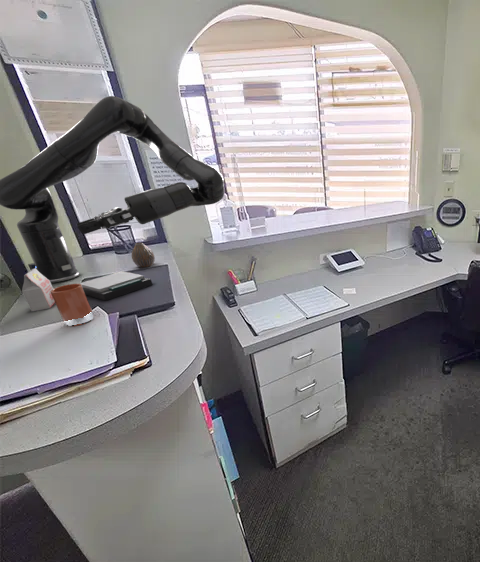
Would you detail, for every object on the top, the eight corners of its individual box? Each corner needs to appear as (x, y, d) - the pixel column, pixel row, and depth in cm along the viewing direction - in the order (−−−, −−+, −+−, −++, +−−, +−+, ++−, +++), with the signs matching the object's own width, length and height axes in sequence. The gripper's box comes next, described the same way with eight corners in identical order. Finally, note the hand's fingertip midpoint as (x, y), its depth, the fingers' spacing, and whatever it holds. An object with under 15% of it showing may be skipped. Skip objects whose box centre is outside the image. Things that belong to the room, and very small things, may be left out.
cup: (61, 324, 76) (45, 290, 72) (87, 314, 80) (74, 282, 77) (72, 328, 73) (57, 293, 70) (99, 318, 78) (85, 285, 75)
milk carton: (31, 311, 83) (14, 276, 79) (40, 302, 88) (25, 269, 85) (50, 307, 85) (34, 273, 81) (58, 299, 90) (43, 267, 86)
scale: (78, 293, 94) (75, 283, 93) (125, 278, 105) (122, 270, 104) (105, 300, 88) (102, 291, 87) (152, 284, 99) (149, 275, 98)
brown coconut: (145, 269, 114) (138, 246, 111) (130, 268, 116) (122, 245, 112) (161, 263, 121) (154, 241, 117) (146, 262, 122) (139, 241, 119)
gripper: (139, 191, 86) (68, 213, 78) (148, 191, 76) (68, 215, 68) (154, 217, 90) (88, 240, 81) (165, 219, 80) (91, 246, 71)
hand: (79, 228), depth 74 cm, fingers open, 8 cm apart
